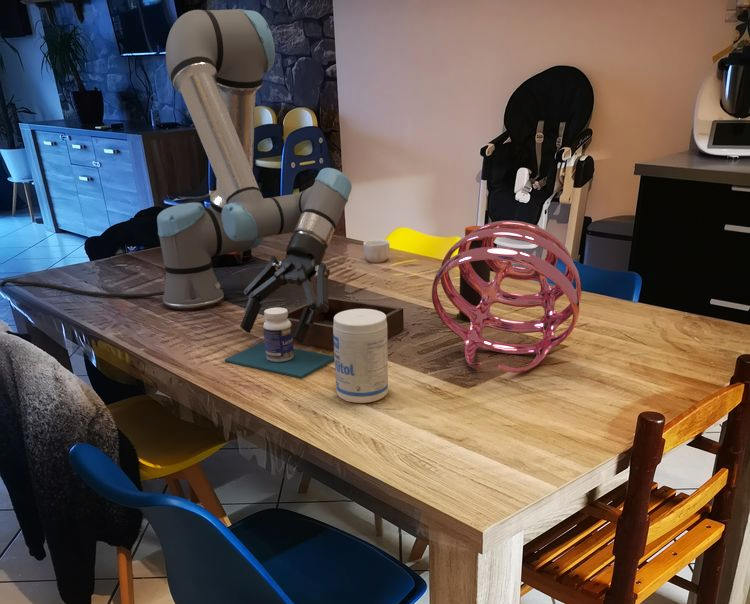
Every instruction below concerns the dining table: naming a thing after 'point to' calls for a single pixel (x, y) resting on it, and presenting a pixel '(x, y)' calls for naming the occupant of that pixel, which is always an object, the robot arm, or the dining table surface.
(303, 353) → the mat
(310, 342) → the wooden tray
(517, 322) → the spiral basket
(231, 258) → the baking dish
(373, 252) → the teacup
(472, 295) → the vinegar
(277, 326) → the pill bottle
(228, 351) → the dining table surface
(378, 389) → the supplement tub
